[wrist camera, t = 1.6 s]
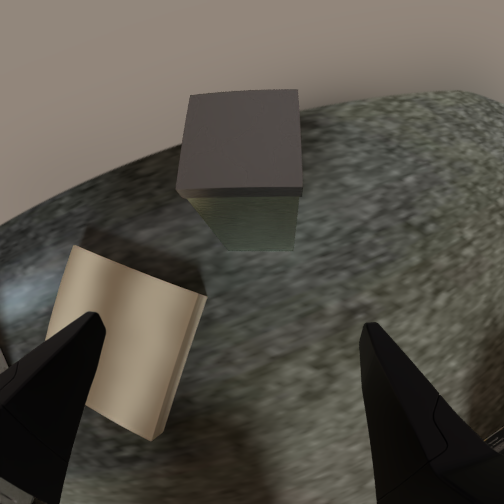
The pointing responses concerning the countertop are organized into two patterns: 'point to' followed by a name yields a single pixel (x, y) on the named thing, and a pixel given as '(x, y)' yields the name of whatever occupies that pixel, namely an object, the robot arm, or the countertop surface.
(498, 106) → the countertop surface
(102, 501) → the countertop surface
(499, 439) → the medicine bottle
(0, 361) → the small box
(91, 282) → the wooden block
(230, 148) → the tea tin
